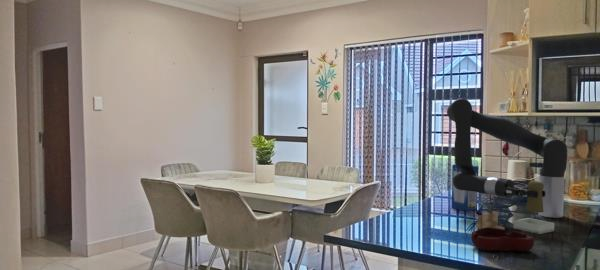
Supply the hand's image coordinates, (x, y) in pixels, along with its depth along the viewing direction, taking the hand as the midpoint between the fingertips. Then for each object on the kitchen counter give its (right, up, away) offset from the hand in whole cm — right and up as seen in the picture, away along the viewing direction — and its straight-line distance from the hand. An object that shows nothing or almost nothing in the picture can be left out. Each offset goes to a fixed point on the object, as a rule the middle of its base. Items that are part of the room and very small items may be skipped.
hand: (541, 194), depth 173 cm
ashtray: (-26, -14, -23) cm, 37 cm away
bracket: (-17, -13, +3) cm, 22 cm away
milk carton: (-14, -12, +43) cm, 46 cm away
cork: (-2, -7, +2) cm, 7 cm away
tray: (-2, -14, +3) cm, 14 cm away
